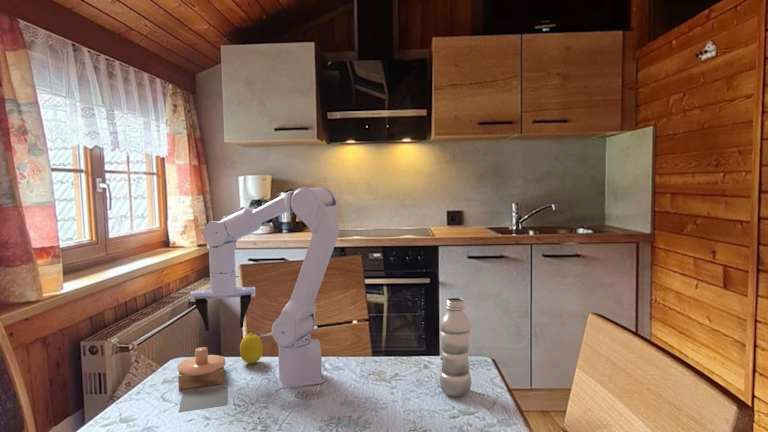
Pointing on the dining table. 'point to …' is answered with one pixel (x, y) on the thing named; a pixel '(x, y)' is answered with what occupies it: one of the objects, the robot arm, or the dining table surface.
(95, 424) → the dining table surface
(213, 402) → the mat
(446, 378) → the plastic bottle
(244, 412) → the dining table surface
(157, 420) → the dining table surface
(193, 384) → the wooden open tray
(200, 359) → the lid
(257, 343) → the lemon
